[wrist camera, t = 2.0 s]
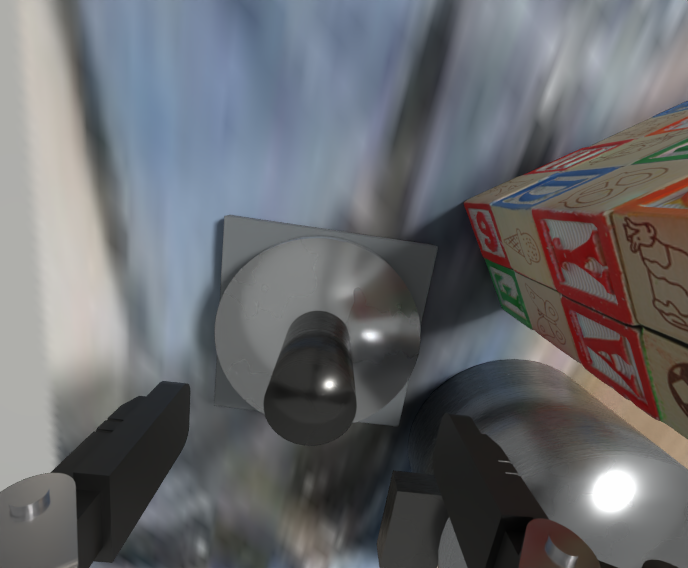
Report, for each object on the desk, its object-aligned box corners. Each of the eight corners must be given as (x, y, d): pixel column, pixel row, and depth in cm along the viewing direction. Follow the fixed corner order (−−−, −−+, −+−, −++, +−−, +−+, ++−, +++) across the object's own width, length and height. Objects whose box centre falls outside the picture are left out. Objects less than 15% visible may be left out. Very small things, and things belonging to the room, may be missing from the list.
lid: (228, 220, 15) (159, 236, 9) (433, 250, 16) (492, 284, 10) (218, 402, 18) (157, 509, 12) (395, 422, 18) (424, 534, 12)
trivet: (229, 214, 16) (224, 215, 15) (433, 244, 16) (438, 247, 16) (219, 396, 18) (214, 405, 18) (395, 417, 19) (398, 426, 18)
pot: (389, 342, 18) (422, 432, 11) (657, 376, 19) (839, 479, 12) (357, 504, 21) (368, 656, 14) (592, 527, 21) (710, 680, 15)
